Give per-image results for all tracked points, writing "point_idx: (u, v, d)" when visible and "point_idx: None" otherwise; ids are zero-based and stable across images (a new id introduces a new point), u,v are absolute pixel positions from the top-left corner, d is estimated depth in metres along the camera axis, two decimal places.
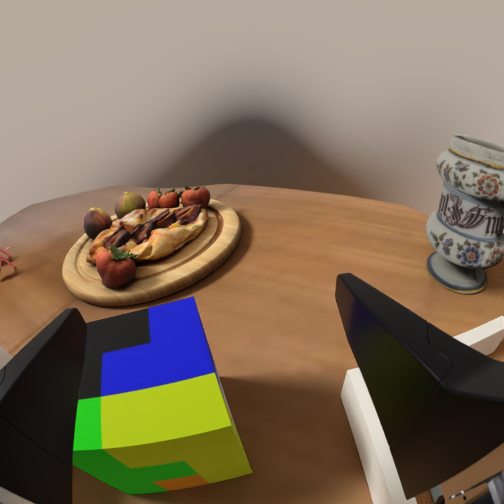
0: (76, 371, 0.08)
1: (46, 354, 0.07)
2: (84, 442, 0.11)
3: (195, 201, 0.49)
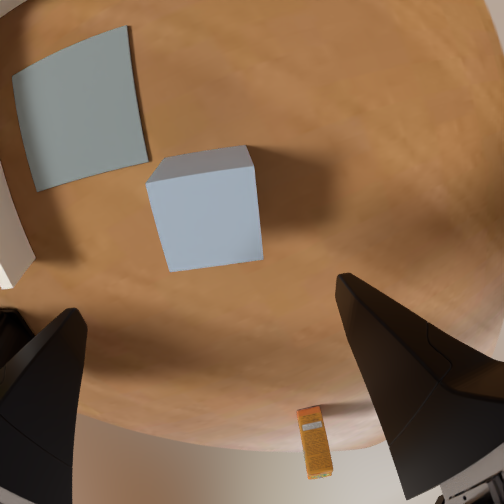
0: (76, 371, 0.08)
1: (46, 354, 0.07)
2: None
3: None
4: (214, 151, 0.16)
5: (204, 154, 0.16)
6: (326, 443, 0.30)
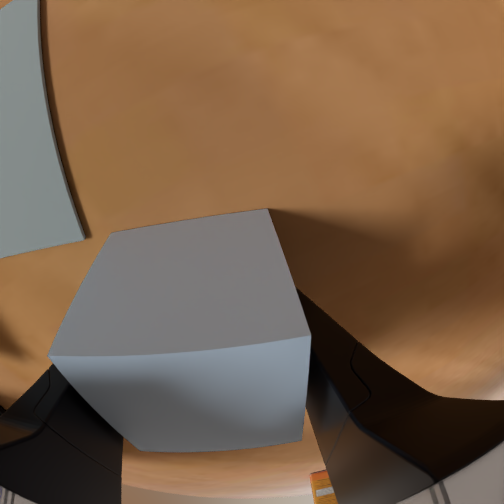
0: None
1: None
2: None
3: None
4: (204, 228, 0.08)
5: (183, 238, 0.08)
6: None
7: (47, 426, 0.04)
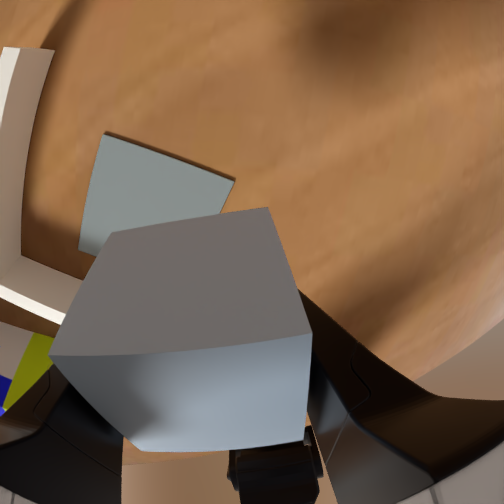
0: None
1: None
2: None
3: None
4: (204, 227, 0.08)
5: (183, 237, 0.08)
6: None
7: (47, 425, 0.04)
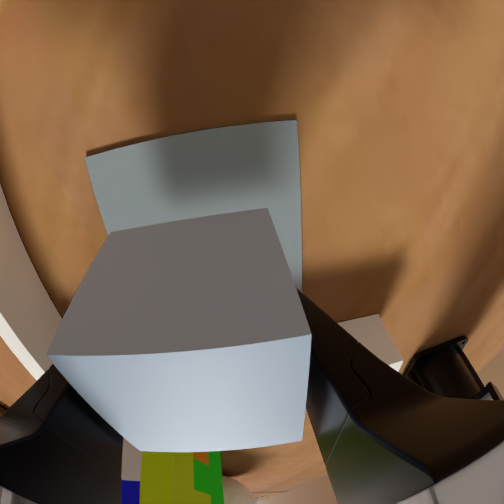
0: None
1: None
2: None
3: None
4: (204, 227, 0.08)
5: (182, 237, 0.08)
6: None
7: (47, 425, 0.04)
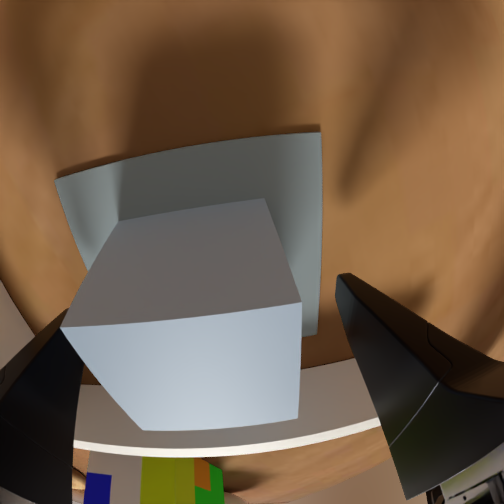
0: (76, 371, 0.08)
1: (46, 354, 0.07)
2: None
3: None
4: (206, 215, 0.09)
5: (186, 224, 0.08)
6: None
7: None
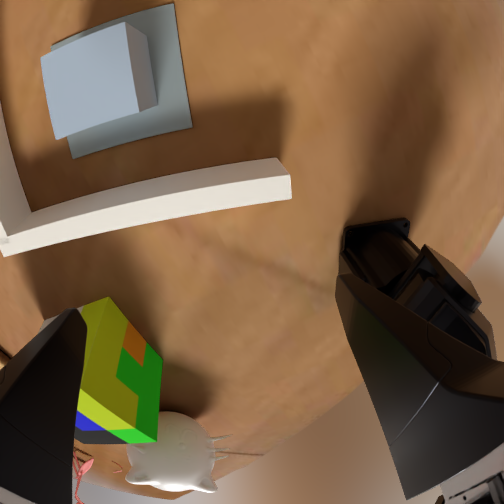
0: (76, 371, 0.08)
1: (46, 354, 0.07)
2: (138, 433, 0.20)
3: None
4: None
5: None
6: None
7: None
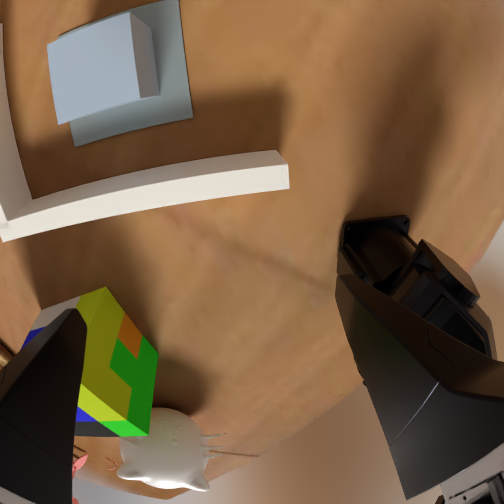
0: (75, 371, 0.08)
1: (46, 354, 0.07)
2: (129, 425, 0.20)
3: None
4: None
5: None
6: None
7: None
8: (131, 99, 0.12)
